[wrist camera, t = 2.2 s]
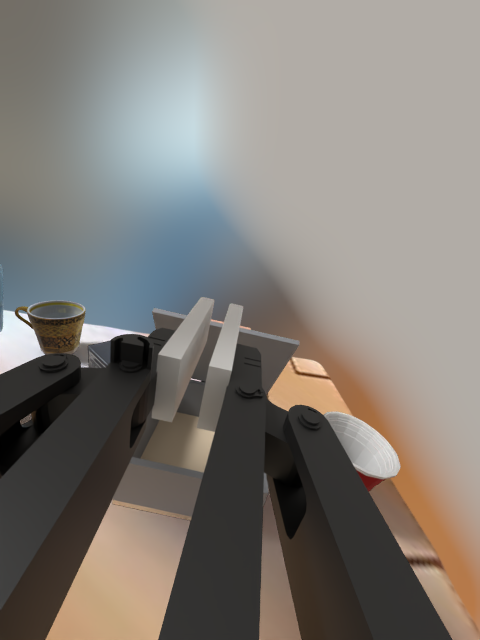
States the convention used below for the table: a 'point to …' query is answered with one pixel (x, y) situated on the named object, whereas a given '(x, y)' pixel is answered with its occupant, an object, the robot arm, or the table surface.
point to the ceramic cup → (56, 325)
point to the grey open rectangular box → (170, 462)
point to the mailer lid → (269, 346)
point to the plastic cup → (365, 448)
